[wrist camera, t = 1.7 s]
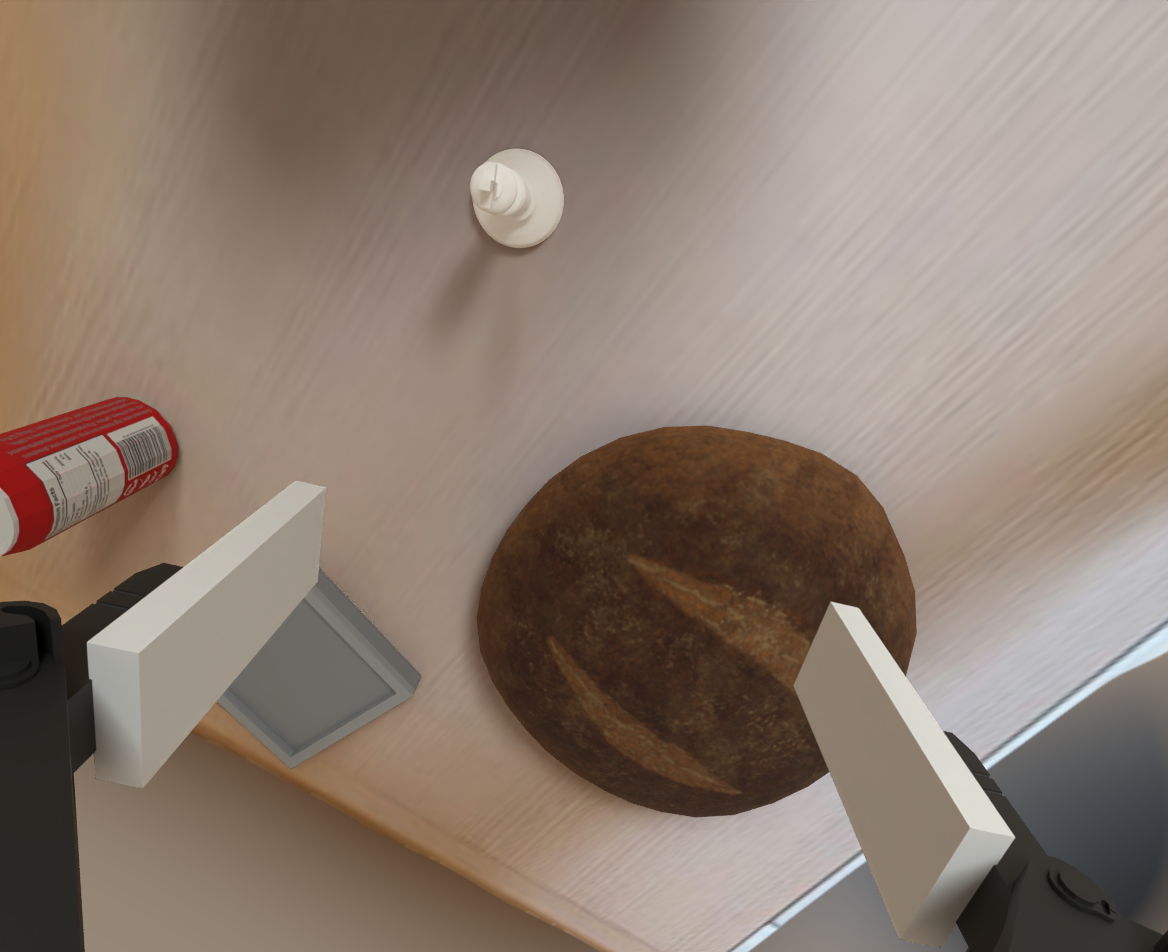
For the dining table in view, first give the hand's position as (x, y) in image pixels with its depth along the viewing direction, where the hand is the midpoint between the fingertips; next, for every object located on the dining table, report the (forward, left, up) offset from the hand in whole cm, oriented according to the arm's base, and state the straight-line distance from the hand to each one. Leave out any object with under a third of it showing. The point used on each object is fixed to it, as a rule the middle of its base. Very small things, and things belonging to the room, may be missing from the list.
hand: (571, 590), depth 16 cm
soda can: (-14, -25, -23) cm, 37 cm away
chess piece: (-11, +3, -23) cm, 26 cm away
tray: (+4, -28, -23) cm, 37 cm away
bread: (+16, -4, -23) cm, 29 cm away
